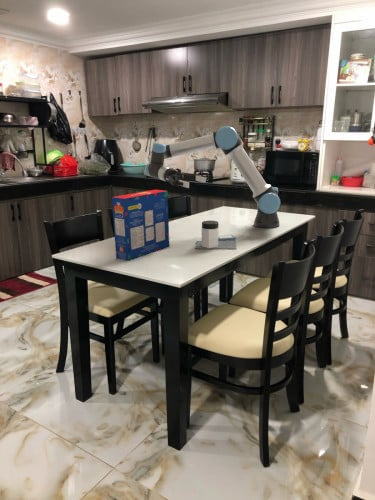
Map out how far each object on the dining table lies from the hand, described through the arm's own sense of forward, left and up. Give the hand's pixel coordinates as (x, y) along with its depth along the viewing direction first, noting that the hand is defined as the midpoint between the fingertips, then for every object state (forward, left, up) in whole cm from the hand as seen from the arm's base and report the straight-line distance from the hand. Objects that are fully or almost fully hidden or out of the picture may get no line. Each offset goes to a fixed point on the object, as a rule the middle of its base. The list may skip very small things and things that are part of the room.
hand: (197, 182), depth 203 cm
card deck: (-15, +5, -30) cm, 34 cm away
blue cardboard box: (+24, +30, -29) cm, 49 cm away
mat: (-10, +17, -29) cm, 35 cm away
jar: (-7, +20, -29) cm, 36 cm away
